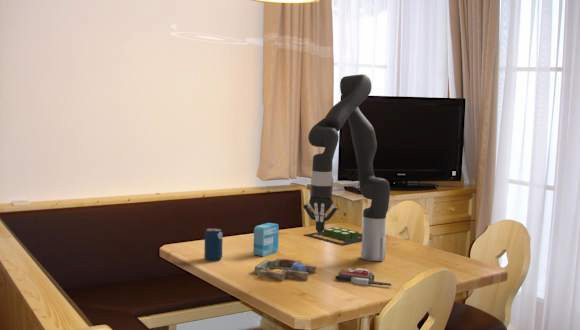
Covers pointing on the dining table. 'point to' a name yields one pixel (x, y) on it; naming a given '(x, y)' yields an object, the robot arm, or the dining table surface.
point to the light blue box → (266, 239)
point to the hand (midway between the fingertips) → (319, 231)
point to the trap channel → (286, 273)
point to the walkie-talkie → (358, 277)
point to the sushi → (337, 236)
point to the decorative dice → (298, 267)
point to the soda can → (213, 244)
